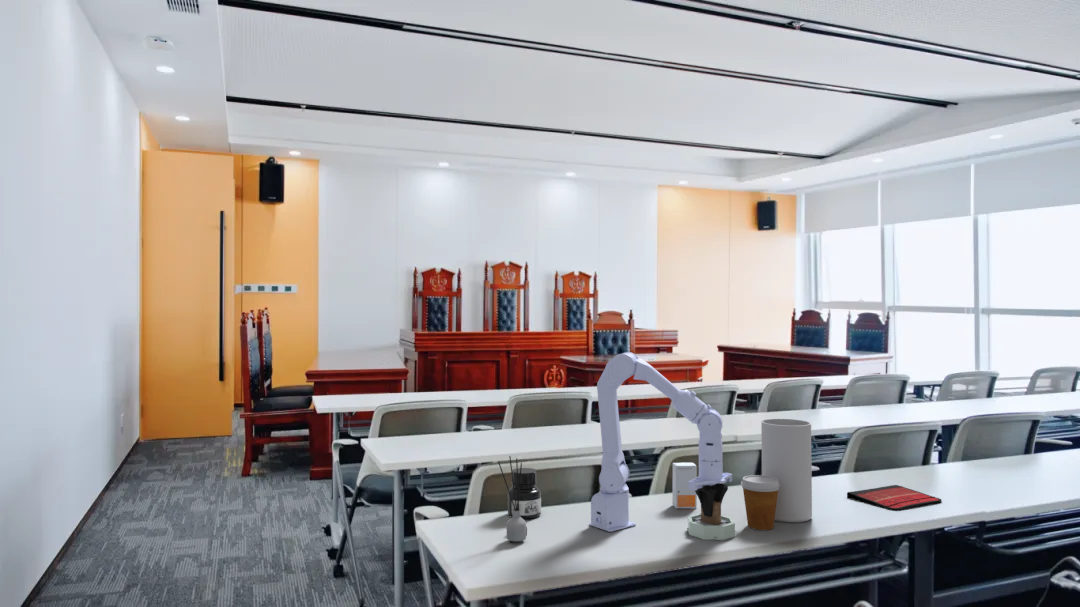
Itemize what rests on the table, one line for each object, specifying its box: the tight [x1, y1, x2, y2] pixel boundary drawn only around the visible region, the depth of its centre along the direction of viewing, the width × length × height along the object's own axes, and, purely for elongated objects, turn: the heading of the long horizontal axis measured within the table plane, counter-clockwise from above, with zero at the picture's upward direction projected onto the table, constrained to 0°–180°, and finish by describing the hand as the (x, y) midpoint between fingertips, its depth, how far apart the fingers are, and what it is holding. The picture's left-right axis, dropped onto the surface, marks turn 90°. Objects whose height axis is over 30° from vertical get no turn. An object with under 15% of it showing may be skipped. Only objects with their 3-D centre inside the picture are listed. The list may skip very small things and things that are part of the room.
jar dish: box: [686, 512, 736, 541], centre depth 174 cm, size 11×11×3 cm
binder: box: [846, 484, 942, 512], centre depth 204 cm, size 16×2×21 cm
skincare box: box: [671, 462, 698, 510], centre depth 197 cm, size 6×4×12 cm
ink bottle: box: [507, 467, 542, 520], centre depth 190 cm, size 10×9×12 cm
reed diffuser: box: [497, 455, 528, 542], centre depth 168 cm, size 10×7×20 cm
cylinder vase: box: [761, 418, 813, 523], centre depth 188 cm, size 12×12×25 cm
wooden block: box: [700, 501, 722, 526], centre depth 174 cm, size 2×4×7 cm, turn 39°
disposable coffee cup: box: [740, 474, 780, 531], centre depth 179 cm, size 10×10×12 cm
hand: (711, 514), depth 174 cm, fingers closed on wooden block, 2 cm apart
